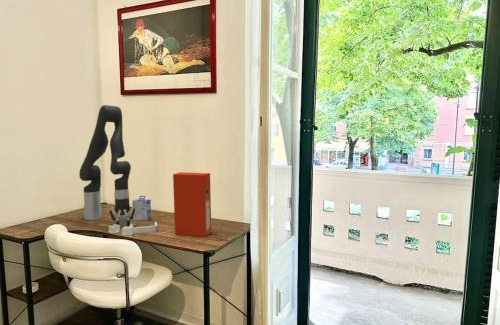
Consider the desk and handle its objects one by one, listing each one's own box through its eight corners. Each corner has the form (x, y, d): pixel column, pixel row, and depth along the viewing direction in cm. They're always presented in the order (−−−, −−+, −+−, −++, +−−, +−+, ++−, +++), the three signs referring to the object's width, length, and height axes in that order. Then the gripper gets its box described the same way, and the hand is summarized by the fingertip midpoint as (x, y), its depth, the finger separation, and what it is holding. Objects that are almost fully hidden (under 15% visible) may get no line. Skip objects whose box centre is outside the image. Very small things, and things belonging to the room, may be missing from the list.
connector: (119, 229, 183) (118, 219, 182) (120, 224, 193) (120, 214, 193) (126, 229, 184) (126, 218, 183) (127, 223, 194) (127, 213, 194)
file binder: (205, 237, 169) (204, 175, 166) (174, 234, 173) (173, 174, 170) (211, 232, 177) (210, 173, 173) (181, 230, 181) (180, 172, 178)
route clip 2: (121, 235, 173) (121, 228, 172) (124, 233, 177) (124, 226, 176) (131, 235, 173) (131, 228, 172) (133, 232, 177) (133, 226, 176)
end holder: (129, 233, 175) (129, 228, 175) (130, 229, 183) (130, 223, 183) (157, 231, 179) (157, 226, 179) (156, 226, 188) (156, 221, 187)
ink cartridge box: (151, 218, 205) (151, 195, 204) (147, 221, 200) (146, 197, 198) (137, 218, 207) (136, 195, 206) (132, 220, 202) (131, 196, 200)
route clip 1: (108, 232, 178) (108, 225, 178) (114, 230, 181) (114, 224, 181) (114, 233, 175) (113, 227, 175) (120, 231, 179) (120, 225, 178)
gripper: (135, 195, 190) (136, 224, 192) (108, 196, 186) (110, 226, 187) (135, 197, 183) (136, 227, 185) (107, 199, 179) (108, 230, 180)
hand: (123, 226), depth 186 cm, fingers open, 4 cm apart
